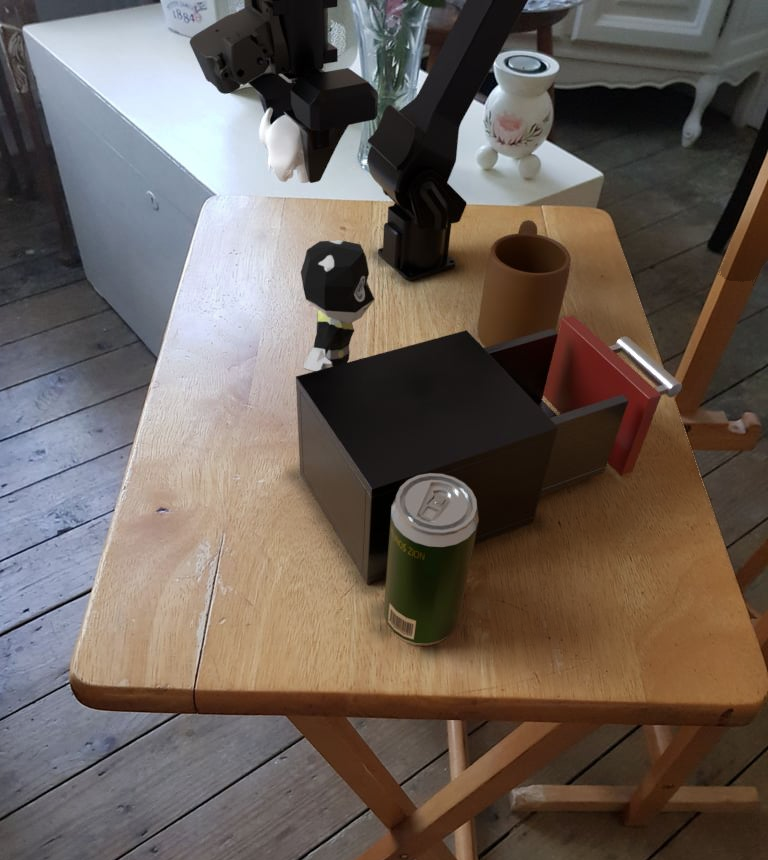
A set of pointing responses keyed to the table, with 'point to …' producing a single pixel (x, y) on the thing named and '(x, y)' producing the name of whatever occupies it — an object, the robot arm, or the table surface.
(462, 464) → the cabinet
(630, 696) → the table surface
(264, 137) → the elephant figurine
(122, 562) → the table surface
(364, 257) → the toy
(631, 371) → the drawer
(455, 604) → the beer can
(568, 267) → the mug
